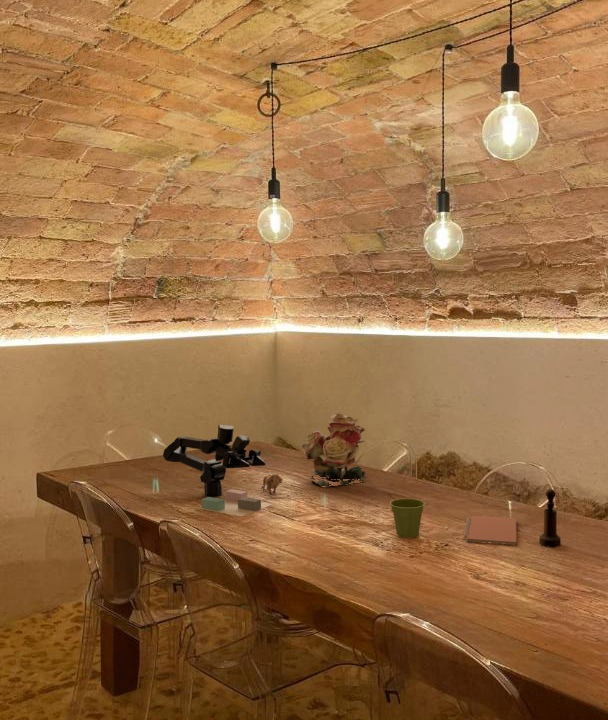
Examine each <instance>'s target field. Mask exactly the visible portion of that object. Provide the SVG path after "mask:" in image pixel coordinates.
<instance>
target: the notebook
mask: <svg viewBox="0 0 608 720" xmlns="http://www.w3.org/2000/svg"><path fill="white" fill-rule="evenodd" d="M464 529H465V530H464V534H463V538H464V537H466V539H465V540H466V541H470V542H469V543H476V542H486V543H485V544H489V543H488V542H491V543H505V544H516V543H517V518H515V517H500V516H499V517H498V516H484V515H483V516H482V515H481V516H480V515H470V516H468V517H467V518H466V524H465V527H464ZM466 541H465V542H466ZM471 541H472V542H471Z"/></svg>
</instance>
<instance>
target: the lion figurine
mask: <svg viewBox="0 0 608 720" xmlns="http://www.w3.org/2000/svg"><path fill="white" fill-rule="evenodd" d="M283 480H284V478H281V476H280V475H279V474H278V473H275V474H273V475H265V476H264V477H263V480H262V485H263V486H261V487H260V489H261V490H262V492H265V491H266V490H267V491H268V494H269V495H272V489H273V494H276V491H277V488H278V486H279V485H280V484H282V482H283Z"/></svg>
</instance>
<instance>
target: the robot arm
mask: <svg viewBox="0 0 608 720" xmlns="http://www.w3.org/2000/svg"><path fill="white" fill-rule="evenodd" d="M234 430H235V427H234V425H226V424H218V426H217V437H215V438H214V437H213V438H209V439H207V438H206V439H204V438H203V439H202V438H197V437H190V436H187V435H183V436H178V437H176V438H175V439H174V440H173V441H172V442H171V443H170V444H169V445H167V447H165V448H164V450H163V452H162V456H163V459H164V460H165V461H166V462H168V463H169V462H170V463H181V464H183V465H186V466H188V467H191V468H192V469H194V470H197V471H199V472H201V473H202V474H201V475H200V476H199V478H200V482H201V483H203V485H204V486H203V487H204V494H202V496H204V497H213V498H217V497H219V496H223V495H224V493H223V492H222V491H223V490H222V489H223V487H222V481H224V480H225V476H226V473H227V469H240V468H250V466H251V467H260V466H261V467H264V466H266V464H267V463H266V462H265V461H264V460H263V459H262V457H261V450H259V449H250V450H249V452H248V455H246V453H247V449H246V448H247V446H249V444H250V443H251V440H250V437H249V436H245V435H237V436H236V437H235V439H234ZM233 439H234V440H233ZM231 442H233V443H232V445H230V443H231ZM187 448H189V449H195V450H200V451H201V453H203V454H206V455H212V454H215V455H214V458H213V459H208V460H205V459H202V458H200V457H197V456H195V455H192V454H191V453H187V452H186V451H187V450H188V449H187Z"/></svg>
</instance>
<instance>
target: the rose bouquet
mask: <svg viewBox="0 0 608 720" xmlns="http://www.w3.org/2000/svg"><path fill="white" fill-rule="evenodd" d="M330 419H331V420H332V421H328V426H327V430H328V431H329V435H328V436H327V435H325V434H322V432H321V430H316V431H313V432H312V433H310V434H308V435H307V437H306V438H307V439H304V442H305V443H304V444H302V445H301V447H302V448H301V449H303V450H304V455H305V457H306V460H307V461H309V460H312V461H311V462H312V463H313V468H314V473H313V474H314V475H319V476H320V477H326V478H328V477H329V479H340V480H341V482H340V484H341V485H346V484H349V483H351V482H348V481H349V480H348V481H343V479H354V480H356V479H357V478H359V479H360V480H359V481H362V482H364V483H365V478H364V475H367V473H366V472H365V471H364V469H363V467H360V466H362V464H359V465H357V466H354V467H352V468H349V469H348V467H349V466H351V465H353V464H355V463H356V457H357V455H358V453H359V450H360V447H359V445H358V444H362V443H363V444H364V443H365V440H362V437H363V435H362V433H363V432H365V431H366V429H365V428H364V427H362V426H360V425H356V423H357V422H358V418H356V419H355V418H353V417H352V416H348V415H345V414H342V413H335V414H333V415H331V416H330ZM362 474H364V475H362ZM329 479H328V480H329ZM318 480H319V481H318V482H315V483H314V484H317V485H319V486H320V487H321V486H329V485H331V484H329V482H327V481H324V480H321V479H318Z"/></svg>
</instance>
